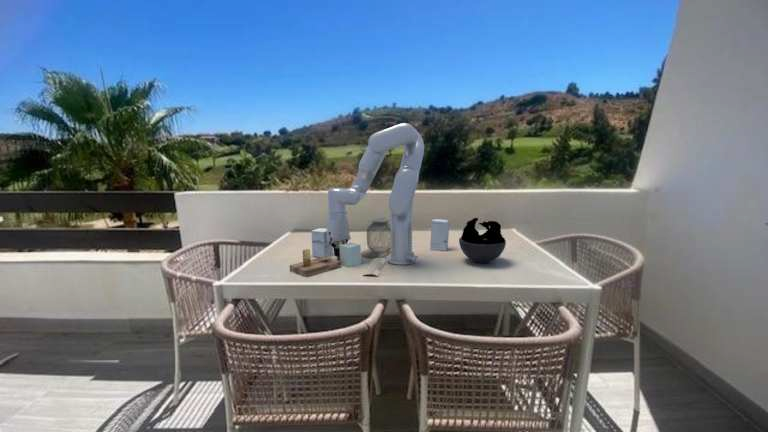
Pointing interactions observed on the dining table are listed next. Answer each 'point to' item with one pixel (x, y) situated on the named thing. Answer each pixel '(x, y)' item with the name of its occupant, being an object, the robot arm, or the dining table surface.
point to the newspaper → (375, 266)
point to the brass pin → (339, 247)
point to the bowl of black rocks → (482, 241)
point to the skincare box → (439, 234)
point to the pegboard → (314, 265)
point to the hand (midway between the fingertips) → (339, 254)
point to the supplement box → (320, 243)
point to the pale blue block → (350, 254)
